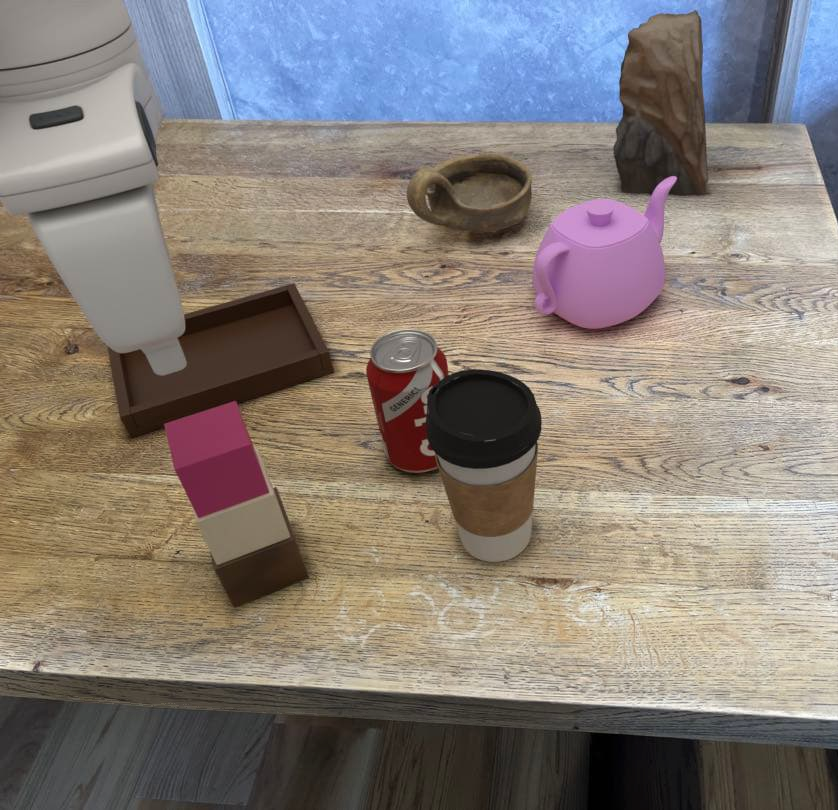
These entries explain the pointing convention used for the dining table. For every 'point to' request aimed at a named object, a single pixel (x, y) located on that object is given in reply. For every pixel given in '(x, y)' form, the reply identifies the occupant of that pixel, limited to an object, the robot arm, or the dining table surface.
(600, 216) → the teapot
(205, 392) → the tray
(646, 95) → the brown rock
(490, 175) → the bowl
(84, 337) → the dining table surface
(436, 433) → the coffee cup
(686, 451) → the dining table surface
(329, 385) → the dining table surface
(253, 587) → the walnut block
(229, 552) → the cream block
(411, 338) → the soda can
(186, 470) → the pink block
